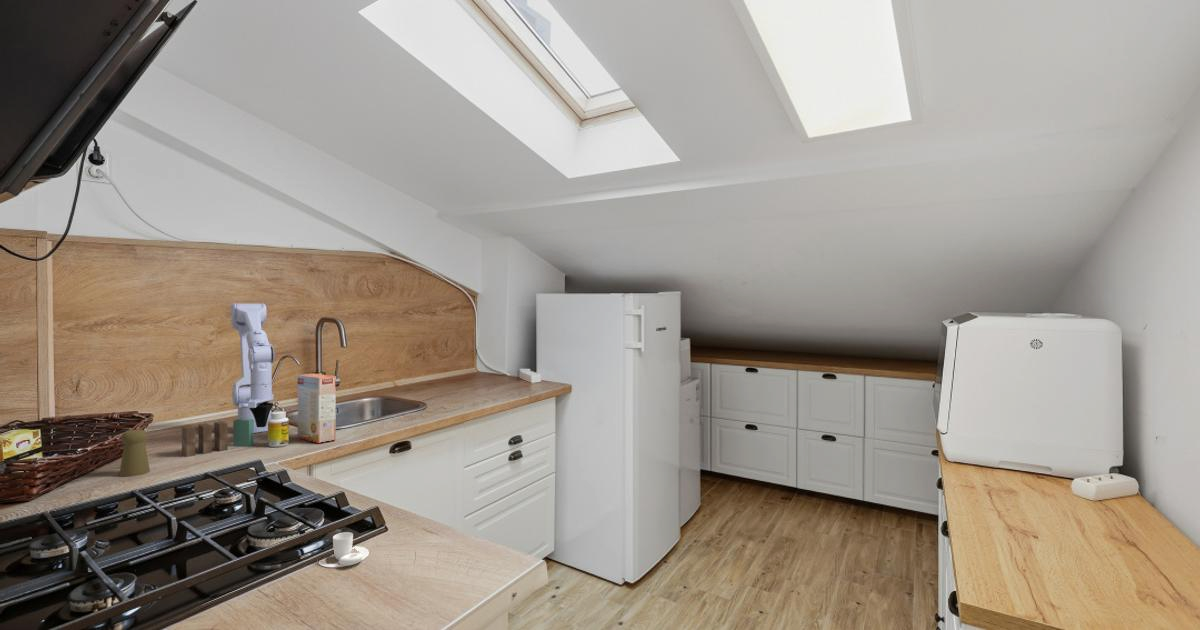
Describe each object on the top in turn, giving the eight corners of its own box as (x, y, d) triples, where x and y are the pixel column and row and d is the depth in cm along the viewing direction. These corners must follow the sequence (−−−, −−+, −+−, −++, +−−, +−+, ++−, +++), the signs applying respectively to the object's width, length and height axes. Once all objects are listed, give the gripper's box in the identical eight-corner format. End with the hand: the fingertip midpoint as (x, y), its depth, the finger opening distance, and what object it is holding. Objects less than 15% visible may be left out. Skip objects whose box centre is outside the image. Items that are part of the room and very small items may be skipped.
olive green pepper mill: (155, 470, 143) (155, 428, 143) (129, 477, 138) (128, 433, 138) (140, 468, 145) (139, 427, 145) (113, 475, 140) (113, 432, 140)
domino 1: (190, 452, 162) (190, 425, 162) (195, 455, 158) (195, 427, 158) (181, 453, 160) (181, 426, 160) (186, 456, 157) (186, 428, 157)
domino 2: (206, 449, 165) (206, 423, 165) (211, 452, 162) (211, 425, 161) (198, 451, 163) (198, 424, 163) (203, 454, 160) (203, 426, 160)
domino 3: (222, 447, 168) (221, 421, 168) (227, 450, 165) (227, 423, 165) (214, 448, 166) (214, 422, 166) (219, 451, 163) (219, 424, 163)
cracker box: (336, 440, 176) (336, 375, 176) (317, 444, 172) (317, 377, 171) (315, 434, 185) (315, 372, 184) (296, 438, 180) (296, 374, 180)
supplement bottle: (282, 447, 168) (282, 414, 167) (264, 447, 167) (263, 414, 167) (292, 443, 173) (292, 410, 173) (274, 443, 173) (274, 410, 173)
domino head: (237, 444, 171) (237, 418, 171) (253, 444, 171) (253, 419, 171) (233, 446, 169) (233, 420, 169) (249, 446, 169) (249, 420, 169)
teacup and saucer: (365, 568, 91) (365, 544, 91) (311, 575, 89) (311, 550, 89) (371, 546, 100) (371, 524, 99) (322, 552, 97) (322, 529, 97)
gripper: (256, 381, 180) (257, 422, 180) (236, 387, 166) (237, 432, 166) (280, 380, 181) (280, 421, 182) (262, 386, 167) (262, 431, 167)
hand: (261, 426), depth 174 cm, fingers closed
